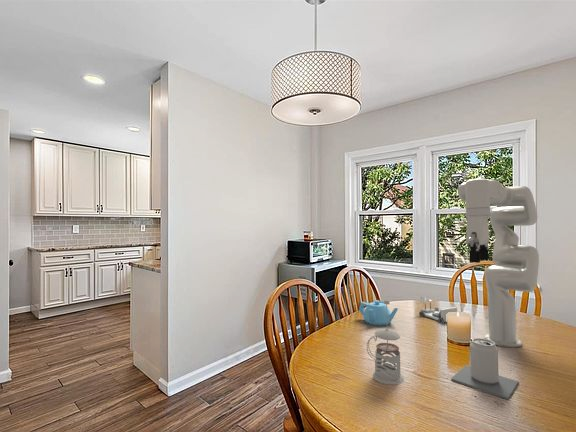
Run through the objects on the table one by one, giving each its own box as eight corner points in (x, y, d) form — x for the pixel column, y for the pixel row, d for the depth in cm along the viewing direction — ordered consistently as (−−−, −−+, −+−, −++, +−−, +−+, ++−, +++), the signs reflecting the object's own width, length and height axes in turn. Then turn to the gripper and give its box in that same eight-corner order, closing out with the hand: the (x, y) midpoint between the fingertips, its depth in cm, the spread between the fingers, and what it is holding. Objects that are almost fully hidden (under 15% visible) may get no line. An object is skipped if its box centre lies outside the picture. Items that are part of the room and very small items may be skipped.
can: (503, 386, 93) (502, 346, 93) (476, 384, 94) (475, 345, 94) (491, 374, 100) (490, 337, 100) (466, 372, 101) (465, 336, 101)
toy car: (414, 296, 168) (430, 294, 173) (415, 314, 168) (431, 312, 172) (442, 304, 152) (459, 302, 156) (443, 324, 151) (459, 321, 156)
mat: (465, 366, 107) (465, 365, 107) (518, 383, 96) (518, 381, 96) (451, 380, 98) (451, 378, 98) (508, 399, 87) (508, 397, 87)
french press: (400, 387, 94) (398, 305, 94) (363, 378, 100) (361, 300, 101) (406, 374, 102) (405, 298, 103) (372, 365, 108) (370, 294, 109)
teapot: (384, 316, 165) (384, 296, 165) (399, 325, 150) (399, 303, 150) (357, 318, 162) (357, 297, 162) (370, 327, 147) (369, 305, 148)
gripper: (474, 214, 119) (475, 258, 119) (458, 213, 108) (459, 262, 107) (496, 213, 114) (498, 259, 113) (482, 212, 102) (483, 264, 102)
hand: (479, 260), depth 110 cm, fingers open, 9 cm apart
